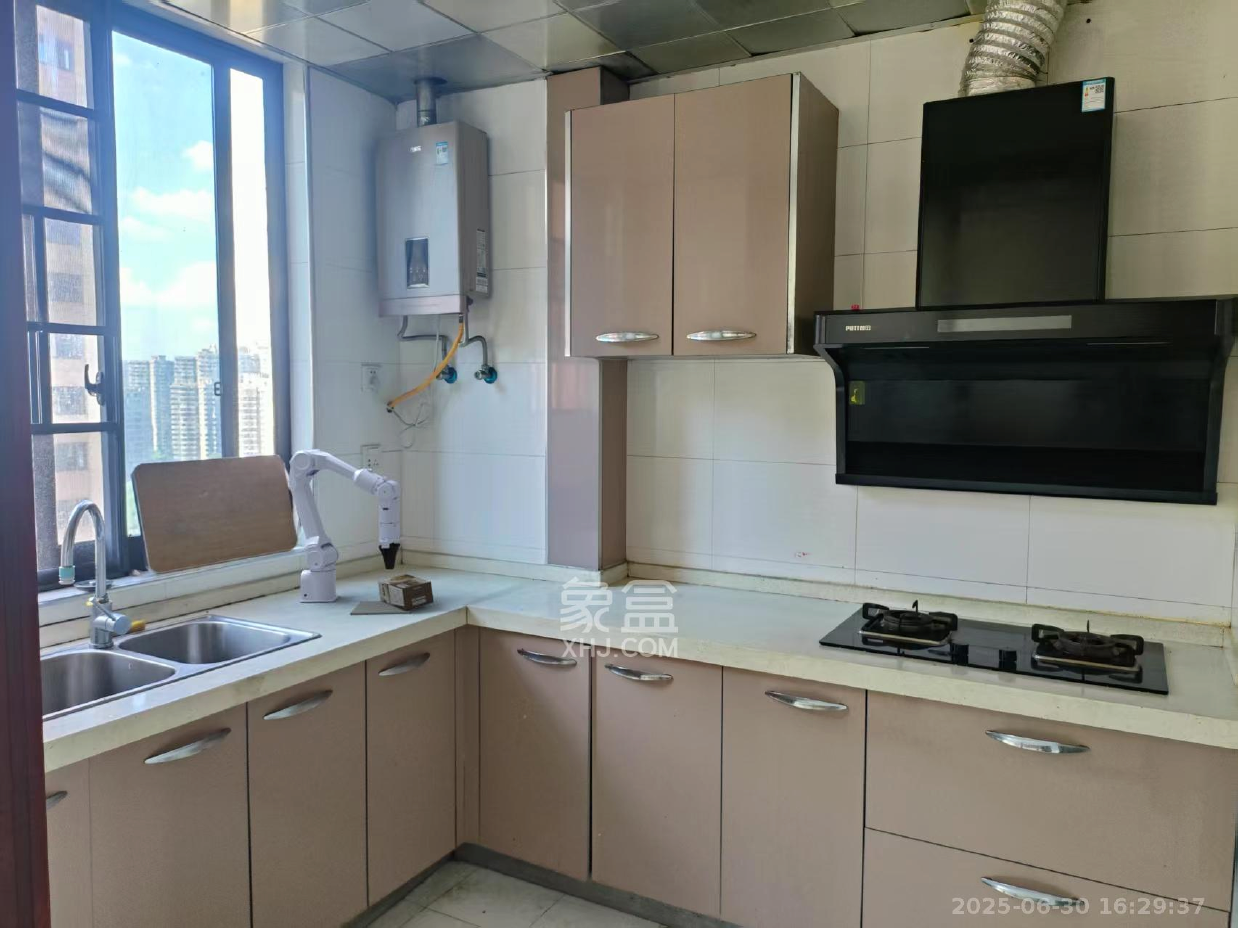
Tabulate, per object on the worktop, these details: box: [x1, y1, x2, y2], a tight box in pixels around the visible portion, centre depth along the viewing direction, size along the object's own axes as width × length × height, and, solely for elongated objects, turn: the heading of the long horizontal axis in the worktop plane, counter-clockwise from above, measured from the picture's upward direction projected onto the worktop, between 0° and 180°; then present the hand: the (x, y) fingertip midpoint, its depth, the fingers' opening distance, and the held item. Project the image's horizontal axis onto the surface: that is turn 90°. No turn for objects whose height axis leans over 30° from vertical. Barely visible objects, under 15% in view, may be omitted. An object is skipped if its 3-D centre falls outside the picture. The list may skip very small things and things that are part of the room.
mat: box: [349, 600, 414, 616], centre depth 239 cm, size 16×14×1 cm
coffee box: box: [377, 573, 434, 611], centre depth 242 cm, size 9×6×16 cm
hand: (389, 569), depth 248 cm, fingers closed
